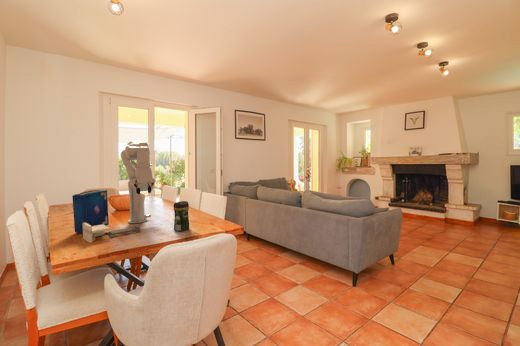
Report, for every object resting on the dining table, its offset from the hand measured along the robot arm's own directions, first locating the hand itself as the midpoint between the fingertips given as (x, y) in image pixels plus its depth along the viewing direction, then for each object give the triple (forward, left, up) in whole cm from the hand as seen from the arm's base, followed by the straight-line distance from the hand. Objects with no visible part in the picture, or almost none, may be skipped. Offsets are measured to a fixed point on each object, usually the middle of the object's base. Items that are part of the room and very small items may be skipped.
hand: (144, 193), depth 167 cm
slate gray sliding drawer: (+12, 0, -24) cm, 27 cm away
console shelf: (+27, 0, -24) cm, 36 cm away
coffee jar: (-15, +20, -24) cm, 35 cm away
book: (+24, -24, -24) cm, 41 cm away
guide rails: (+14, 0, -24) cm, 27 cm away
